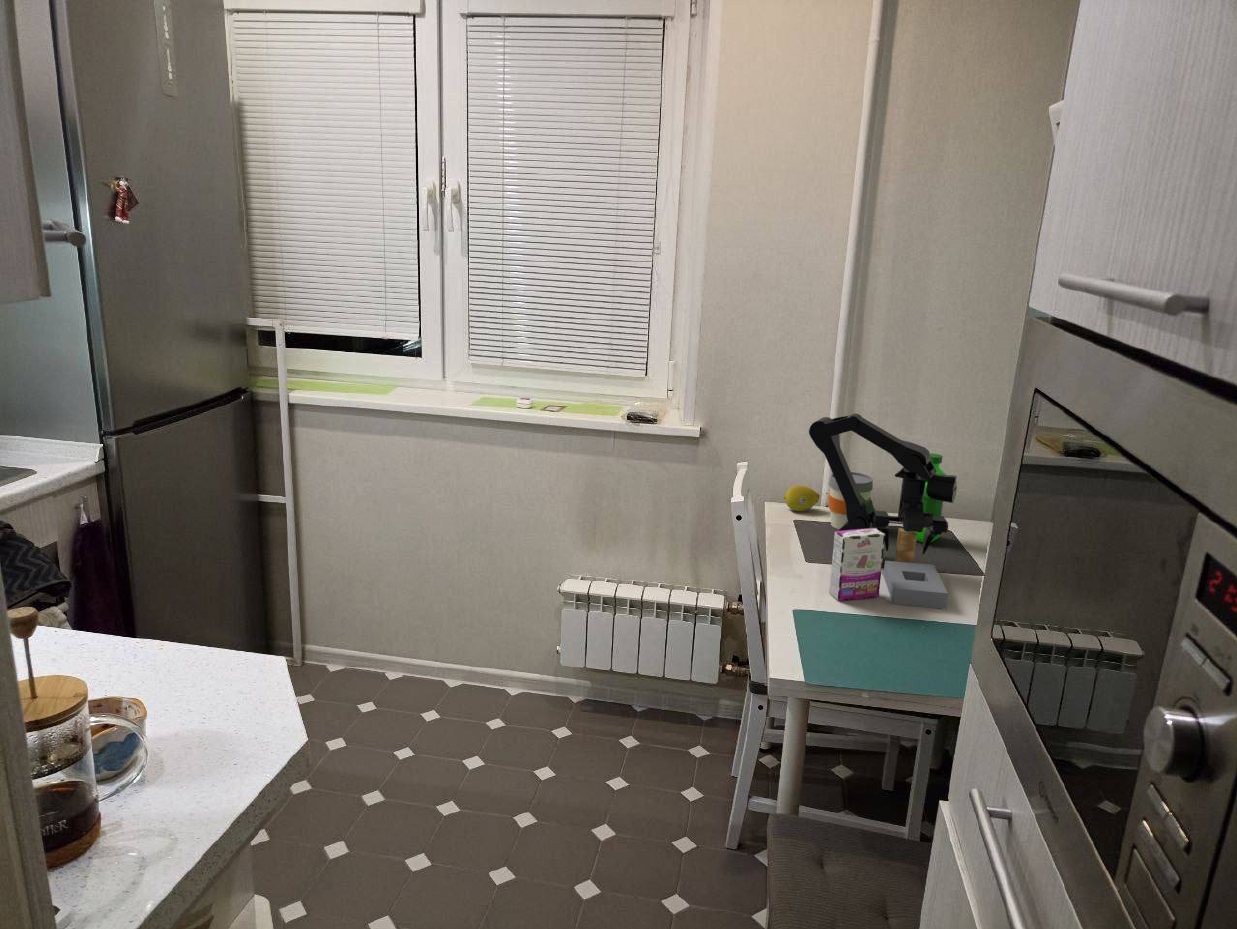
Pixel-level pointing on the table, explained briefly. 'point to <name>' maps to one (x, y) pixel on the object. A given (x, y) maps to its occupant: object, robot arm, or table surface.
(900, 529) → the peg
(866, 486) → the reusable coffee cup
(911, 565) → the socket block
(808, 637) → the table surface
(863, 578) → the candy bar box
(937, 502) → the plastic bottle
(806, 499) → the lemon
